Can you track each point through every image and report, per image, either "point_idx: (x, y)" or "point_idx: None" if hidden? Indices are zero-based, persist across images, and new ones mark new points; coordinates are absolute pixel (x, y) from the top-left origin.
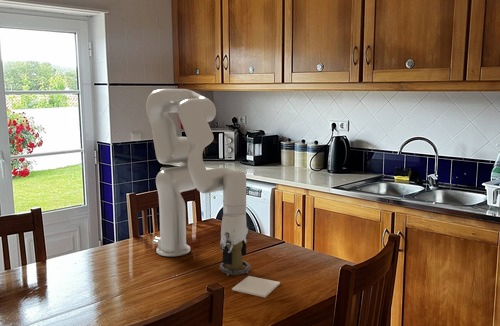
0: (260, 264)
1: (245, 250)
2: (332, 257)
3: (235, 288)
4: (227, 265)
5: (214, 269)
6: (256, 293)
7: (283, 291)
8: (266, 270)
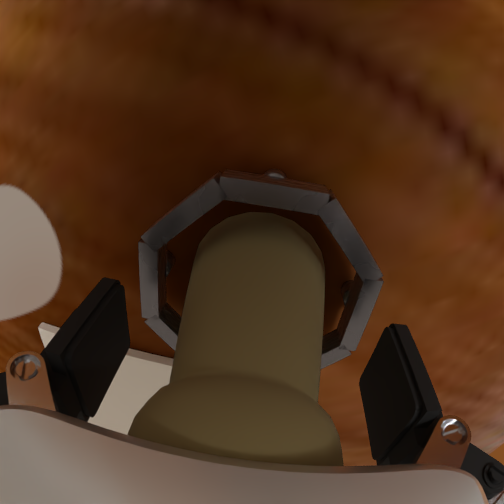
0: None
1: (369, 416)
2: None
3: (44, 339)
4: (200, 264)
5: (246, 111)
6: None
7: None
8: (326, 405)
